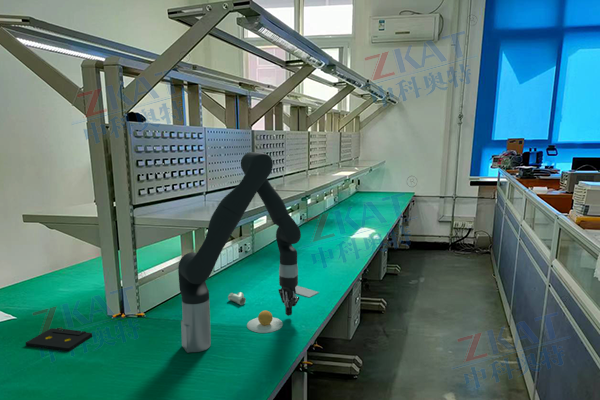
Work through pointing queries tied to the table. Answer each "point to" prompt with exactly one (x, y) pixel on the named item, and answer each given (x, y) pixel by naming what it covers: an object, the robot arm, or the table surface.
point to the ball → (265, 317)
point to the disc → (264, 326)
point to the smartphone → (305, 292)
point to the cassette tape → (59, 339)
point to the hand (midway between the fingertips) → (288, 314)
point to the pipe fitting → (237, 298)
